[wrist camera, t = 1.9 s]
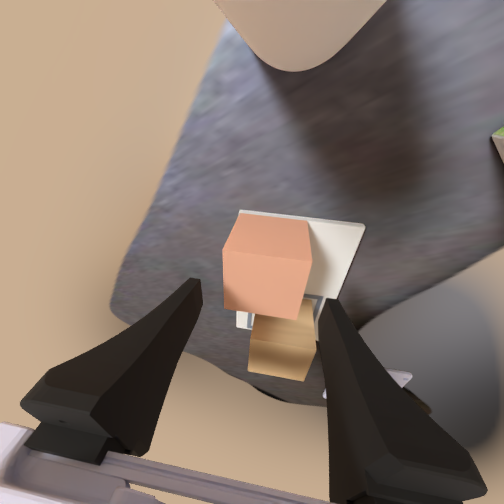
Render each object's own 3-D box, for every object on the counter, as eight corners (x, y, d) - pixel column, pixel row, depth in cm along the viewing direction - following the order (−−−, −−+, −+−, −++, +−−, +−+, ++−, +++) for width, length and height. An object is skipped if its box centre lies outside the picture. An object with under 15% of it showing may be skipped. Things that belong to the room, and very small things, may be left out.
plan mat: (318, 336, 24) (319, 341, 23) (237, 322, 25) (236, 327, 24) (363, 223, 16) (365, 228, 15) (240, 209, 17) (238, 213, 16)
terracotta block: (295, 272, 19) (296, 320, 15) (238, 264, 19) (224, 308, 15) (307, 220, 16) (312, 261, 12) (240, 212, 16) (222, 249, 12)
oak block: (301, 332, 23) (303, 381, 19) (255, 324, 24) (247, 370, 19) (311, 300, 20) (316, 349, 16) (258, 292, 21) (250, 338, 17)
